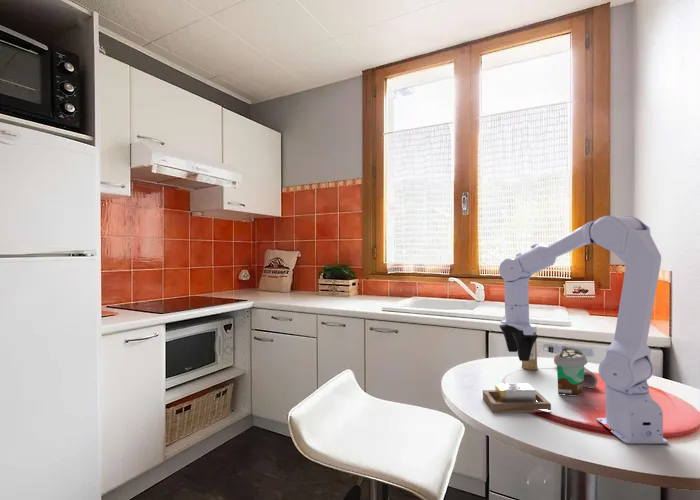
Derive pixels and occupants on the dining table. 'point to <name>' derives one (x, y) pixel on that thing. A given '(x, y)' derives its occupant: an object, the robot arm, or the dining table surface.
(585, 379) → the coil
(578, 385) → the food container
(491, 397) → the wooden tray
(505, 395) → the white yellow block
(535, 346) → the sprinkles bottle
